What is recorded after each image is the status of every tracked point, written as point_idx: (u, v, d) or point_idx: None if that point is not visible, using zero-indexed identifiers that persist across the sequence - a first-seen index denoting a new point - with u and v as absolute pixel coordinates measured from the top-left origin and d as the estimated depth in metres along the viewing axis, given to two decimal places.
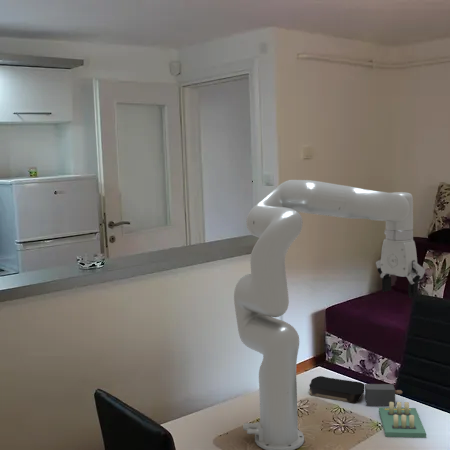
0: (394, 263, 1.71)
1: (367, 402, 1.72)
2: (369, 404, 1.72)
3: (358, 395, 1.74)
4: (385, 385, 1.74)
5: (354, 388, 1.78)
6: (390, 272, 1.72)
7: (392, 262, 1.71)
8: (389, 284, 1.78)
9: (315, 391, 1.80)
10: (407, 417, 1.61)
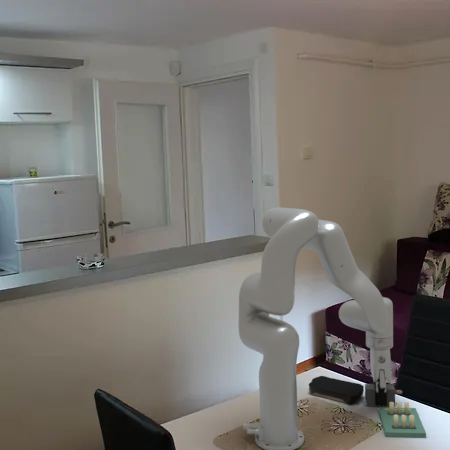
0: None
1: (367, 402, 1.72)
2: (369, 404, 1.72)
3: (354, 397, 1.73)
4: None
5: (352, 389, 1.77)
6: None
7: None
8: None
9: (314, 390, 1.81)
10: (407, 417, 1.61)
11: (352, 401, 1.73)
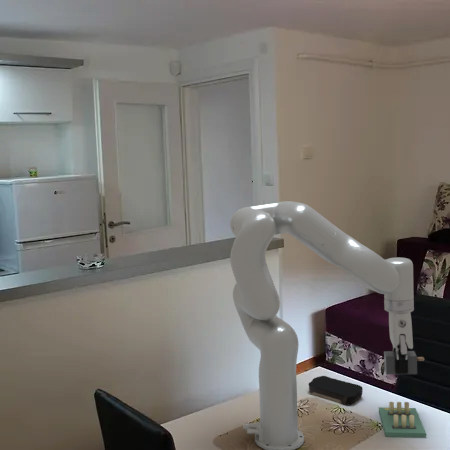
0: None
1: (387, 370, 1.61)
2: (389, 372, 1.61)
3: (351, 398, 1.73)
4: None
5: (350, 390, 1.76)
6: None
7: None
8: None
9: (313, 390, 1.81)
10: (407, 417, 1.61)
11: (349, 402, 1.73)
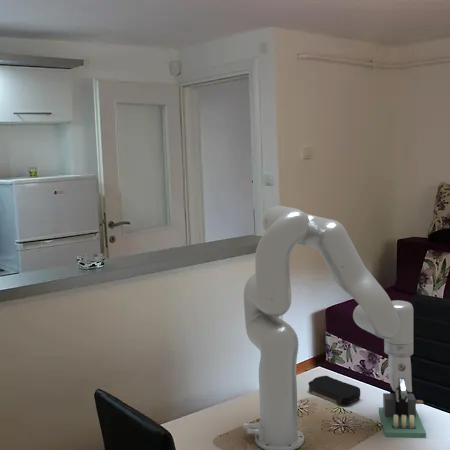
0: None
1: (386, 413, 1.62)
2: (388, 415, 1.62)
3: (346, 399, 1.72)
4: None
5: (347, 391, 1.75)
6: None
7: None
8: None
9: (312, 389, 1.82)
10: (407, 417, 1.61)
11: (343, 403, 1.72)
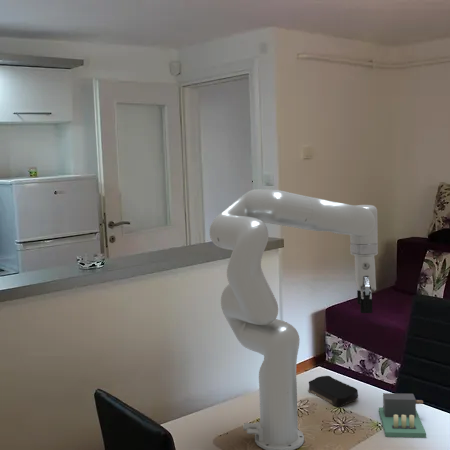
0: None
1: (386, 413, 1.62)
2: (388, 415, 1.62)
3: (341, 399, 1.71)
4: (405, 394, 1.64)
5: (344, 392, 1.75)
6: None
7: None
8: None
9: (311, 388, 1.82)
10: (407, 417, 1.61)
11: (338, 404, 1.72)
